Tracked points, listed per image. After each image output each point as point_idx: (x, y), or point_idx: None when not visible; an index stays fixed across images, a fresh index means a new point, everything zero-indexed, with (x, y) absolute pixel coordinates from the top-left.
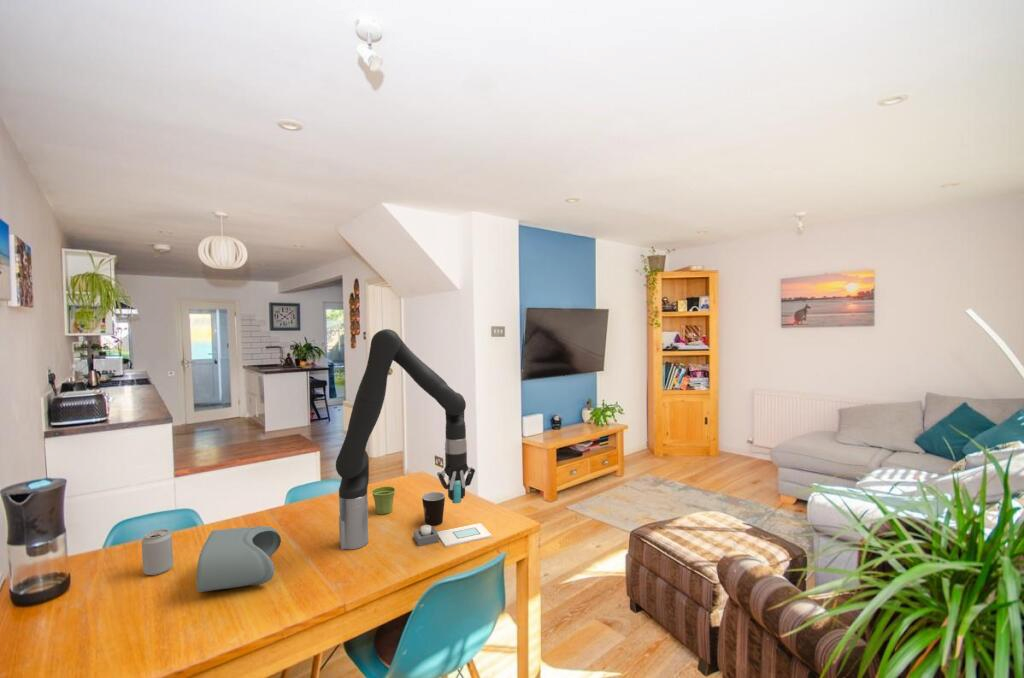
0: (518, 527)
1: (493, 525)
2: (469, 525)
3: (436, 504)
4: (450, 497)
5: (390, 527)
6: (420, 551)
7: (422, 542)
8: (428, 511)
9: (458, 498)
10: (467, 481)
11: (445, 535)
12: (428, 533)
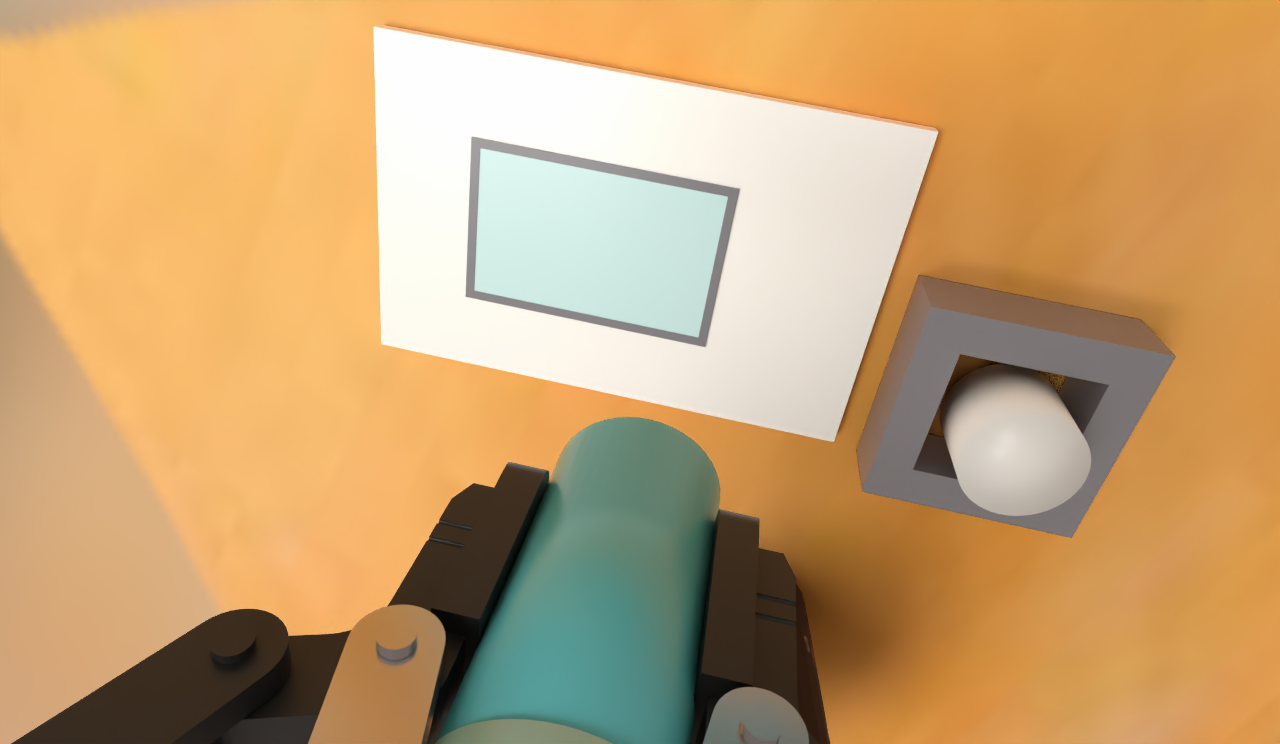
0: (53, 51)
1: (281, 249)
2: (496, 365)
3: None
4: (770, 571)
5: (1074, 733)
6: (1213, 206)
7: (1110, 324)
8: (812, 691)
9: (626, 474)
10: (220, 730)
11: (803, 328)
12: (1017, 385)
